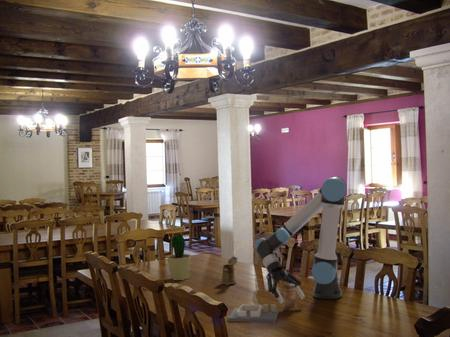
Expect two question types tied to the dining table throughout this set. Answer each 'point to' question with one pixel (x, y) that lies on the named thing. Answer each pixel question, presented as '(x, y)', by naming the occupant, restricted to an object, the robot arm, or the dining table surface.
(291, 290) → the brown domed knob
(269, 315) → the board
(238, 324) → the dining table surface
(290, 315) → the dining table surface
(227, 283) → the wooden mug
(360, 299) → the dining table surface
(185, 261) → the potted cactus
